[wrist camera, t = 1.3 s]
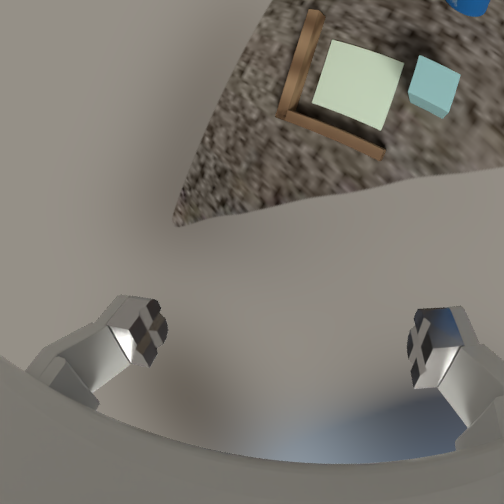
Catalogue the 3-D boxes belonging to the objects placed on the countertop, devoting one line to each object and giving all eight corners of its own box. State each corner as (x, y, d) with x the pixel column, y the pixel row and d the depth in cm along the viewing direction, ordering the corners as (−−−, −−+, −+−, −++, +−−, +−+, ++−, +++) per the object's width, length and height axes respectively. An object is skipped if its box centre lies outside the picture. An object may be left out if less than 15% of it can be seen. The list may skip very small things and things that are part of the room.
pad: (332, 40, 29) (332, 39, 29) (404, 63, 25) (404, 63, 25) (312, 102, 34) (311, 102, 34) (381, 130, 31) (380, 130, 31)
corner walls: (315, 15, 28) (308, 8, 26) (421, 46, 23) (421, 40, 21) (283, 117, 37) (275, 117, 35) (382, 159, 32) (379, 161, 30)
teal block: (420, 72, 25) (419, 54, 19) (452, 88, 23) (460, 74, 17) (410, 102, 27) (407, 91, 21) (442, 118, 26) (448, 112, 20)
